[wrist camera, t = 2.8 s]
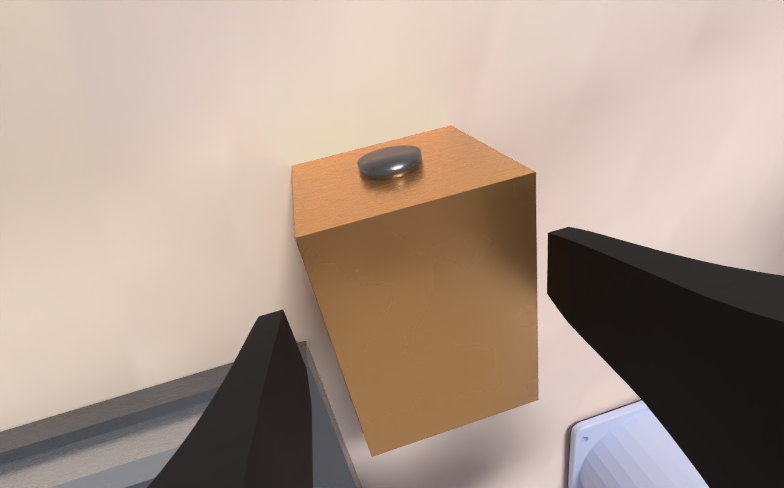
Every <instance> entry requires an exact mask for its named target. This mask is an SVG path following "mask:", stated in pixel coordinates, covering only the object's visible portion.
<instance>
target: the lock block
mask: <svg viewBox="0 0 784 488" xmlns="http://www.w3.org/2000/svg"><path fill="white" fill-rule="evenodd" d="M292 184H293V205H294V225H295V239H296V242H297V245H298V248H299V250H300V253H301V256H302V259H303V262H304V265H305V268H306V270H307V273H308V276H309V279H310V282H311V285H312V288H313V290H314V293H315V296H316V299H317V302H318V305H319V308H320V310H321V313H322V316H323V319H324V322H325V325H326V327H327V330H328V333H329V336H330V339H331V342H332V345H333V347H334V350H335V353H336V356H337V359H338V362H339V365H340V367H341V370H342V373H343V376H344V379H345V382H346V385H347V387H348V390H349V393H350V396H351V399H352V402H353V404H354V407H355V410H356V413H357V416H358V419H359V422H360V424H361V427H362V430H363V433H364V436H365V439H366V442H367V444H368V447H369V450H370V453H371V456H372V457H373V456H376V455H379V454H381V453H384V452H387V451H390V450H393V449H396V448H399V447H402V446H405V445H408V444H411V443H414V442H417V441H419V440H422V439H425V438H428V437H431V436H434V435H437V434H440V433H443V432H446V431H449V430H452V429H454V428H457V427H460V426H463V425H466V424H469V423H472V422H475V421H478V420H481V419H484V418H487V417H489V416H492V415H495V414H498V413H501V412H504V411H507V410H510V409H513V408H516V407H519V406H522V405H524V404H527V403H530V402H533V401H536V400H538V326H537V242H536V172H535V171H533V170H531V169H529V168H527V167H526V166H524V165H522V164H520V163H518V162H517V161H515V160H513V159H511V158H509V157H507V156H506V155H504V154H502V153H500V152H498V151H497V150H495V149H493V148H491V147H489V146H487V145H486V144H484V143H482V142H480V141H478V140H477V139H475V138H473V137H471V136H469V135H467V134H466V133H464V132H462V131H460V130H458V129H457V128H455V127H453V126H447V127H443V128H439V129H435V130H431V131H427V132H424V133H420V134H416V135H412V136H408V137H404V138H400V139H396V140H392V141H388V142H384V143H380V144H376V145H372V146H368V147H364V148H361V149H357V150H353V151H349V152H345V153H341V154H337V155H333V156H329V157H325V158H321V159H317V160H313V161H309V162H305V163H301V164H298V165H294V166H292Z"/></svg>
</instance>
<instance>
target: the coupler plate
mask: <svg viewBox="0 0 784 488" xmlns="http://www.w3.org/2000/svg"><path fill="white" fill-rule="evenodd" d="M297 345H298V348H299V350H300V353H301V355H302V358H303V360H304V363H305V365H306V368H307V375H308V382H309V389H310V396H311V404H312V451H313V488H362V487H361V485H360V482H359V479H358V477H357V474H356V472H355V469H354V466H353V464H352V461H351V458H350V456H349V453H348V451H347V448H346V445H345V443H344V440H343V437H342V435H341V432H340V430H339V427H338V424H337V422H336V419H335V417H334V414H333V411H332V409H331V406H330V403H329V401H328V398H327V396H326V393H325V390H324V388H323V385H322V382H321V380H320V377H319V375H318V372H317V369H316V367H315V364H314V362H313V359H312V356H311V354H310V351H309V348H308V346H307V343H306V341H304V342H301V343H297ZM232 365H233V363H230V364H227V365H224V366H220V367H217V368H214V369H210V370H207V371H204V372H200V373H197V374H193V375H190V376H187V377H183V378H180V379H177V380H173V381H170V382H167V383H163V384H160V385H157V386H153V387H150V388H147V389H143V390H140V391H137V392H133V393H130V394H126V395H123V396H120V397H116V398H113V399H110V400H106V401H103V402H100V403H96V404H93V405H90V406H86V407H83V408H80V409H76V410H73V411H69V412H66V413H63V414H59V415H56V416H53V417H49V418H46V419H43V420H39V421H36V422H33V423H29V424H26V425H23V426H19V427H16V428H13V429H9V430H6V431H2V432H0V488H147V487H148V486H149V484H150V483H151V482H152V481H153V480H154V478H155V477H156V476H157V475H158V474H159V473H160V471H161V470H162V469H163V468H164V466H165V465H166V464H167V463H168V461H169V460H170V459H171V457H172V456H173V455H174V453H175V452H176V451H177V449H178V448H179V447H180V445H181V444H182V443H183V441H184V440H185V439H186V437H187V436H188V435H189V433H190V432H191V430H192V429H193V427H194V426H195V425H196V423H197V422H198V420H199V419H200V417H201V416H202V414H203V412H204V411H205V409H206V408H207V406H208V405H209V403H210V401H211V400H212V398H213V397H214V395H215V394H216V392H217V390H218V389H219V387H220V385H221V384H222V382H223V380H224V379H225V377H226V375H227V373H228V372H229V370H230V368H231V366H232Z"/></svg>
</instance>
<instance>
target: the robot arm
mask: <svg viewBox="0 0 784 488" xmlns="http://www.w3.org/2000/svg"><path fill="white" fill-rule="evenodd" d="M547 294H548V295H549V297H550V298H551V300H552V301H553V303H554V304H555V305H556V307H557V308H558V310H559V311H560V312H561V314H562V315H563V316H564V318H565V319H566V320H567V322H568V323H569V324H570V325H571V326H572V327H573V328H574V329H575V330H576V331H577V332H578V333H579V335H580V336H581V337H582V338H583V339H584V340H585V341H586V342H587V343H588V344H589V345H590V346H591V347H592V348H593V349H594V350H595V351H596V352H597V353H598V354H599V355H600V356H601V357H602V358H603V359H604V360H605V361H606V362H607V363H608V364H609V365H610V366H611V368H612V369H613V370H614V371H615V372H616V373H617V374H618V375H619V376H620V377H621V378H622V379H623V380H624V381H625V382H626V383H627V384H628V385H629V386H630V387H631V388H632V389H633V391H634V392H635V393H636V394H637V395H638V396H639V397H640V398H641V399H642V400H641V401H639V402H636V403H633V404H630V405H627V406H624V407H621V408H619V409H616V410H613V411H610V412H607V413H604V414H601V415H599V416H596V417H593V418H590V419H587V420H584V421H581V422H579V423H577V424H576V425H574V426H573V428H572V430H571V444H570V461H569V478H568V488H784V276H781V275H774V274H768V273H762V272H756V271H750V270H745V269H739V268H733V267H728V266H723V265H718V264H713V263H708V262H704V261H700V260H695V259H691V258H687V257H683V256H678V255H674V254H670V253H667V252H663V251H659V250H655V249H651V248H648V247H644V246H640V245H637V244H633V243H630V242H626V241H623V240H619V239H615V238H612V237H608V236H605V235H601V234H597V233H594V232H590V231H586V230H582V229H577V228H572V227H567V228H563V229H560V230H556V231H553V232H549V233H548V270H547ZM147 488H313V451H312V404H311V396H310V389H309V382H308V375H307V368H306V365H305V363H304V360H303V358H302V355H301V353H300V350H299V348H298V345H297V343H296V340H295V338H294V335H293V333H292V330H291V328H290V325H289V323H288V320H287V318H286V315H285V313H284V310H280V311H276V312H273V313H269V314H266V315H262V316H259V317H258V319H257V320H256V322H255V324H254V326H253V327H252V329H251V331H250V333H249V335H248V337H247V339H246V341H245V343H244V345H243V346H242V348H241V350H240V352H239V354H238V356H237V357H236V359H235V361H234V363H233V365H232V366H231V368H230V370H229V372H228V373H227V375H226V377H225V379H224V380H223V382H222V384H221V385H220V387H219V389H218V390H217V392H216V394H215V395H214V397H213V398H212V400H211V401H210V403H209V405H208V406H207V408H206V409H205V411H204V412H203V414H202V416H201V417H200V419H199V420H198V422H197V423H196V425H195V426H194V427H193V429H192V430H191V432H190V433H189V435H188V436H187V437H186V439H185V440H184V441H183V443H182V444H181V445H180V447H179V448H178V449H177V451H176V452H175V453H174V455H173V456H172V457H171V459H170V460H169V461H168V463H167V464H166V465H165V466H164V468H163V469H162V470H161V471H160V473H159V474H158V475H157V476H156V477H155V478H154V480H153V481H152V482H151V483H150V484H149V486H148V487H147Z"/></svg>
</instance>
